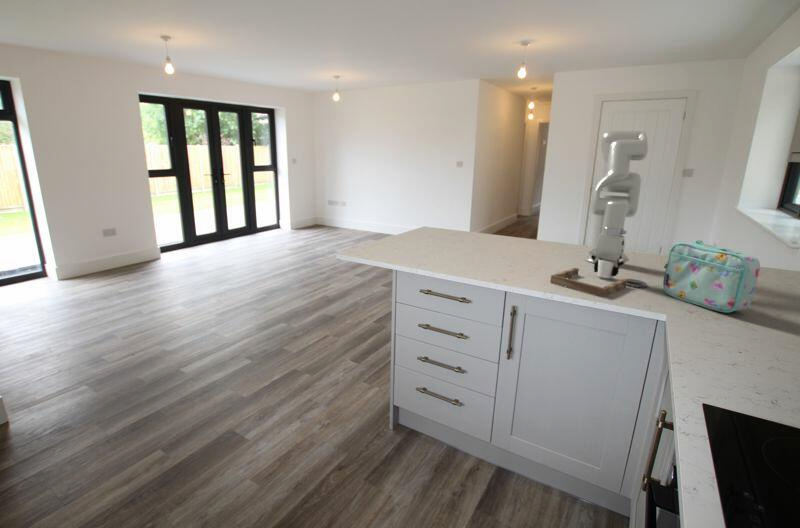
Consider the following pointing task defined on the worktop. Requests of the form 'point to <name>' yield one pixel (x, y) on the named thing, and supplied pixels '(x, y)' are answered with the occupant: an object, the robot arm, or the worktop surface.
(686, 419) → the worktop surface
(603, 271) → the white cup
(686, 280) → the lunch box
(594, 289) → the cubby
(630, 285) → the dark grey round dish
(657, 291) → the worktop surface
